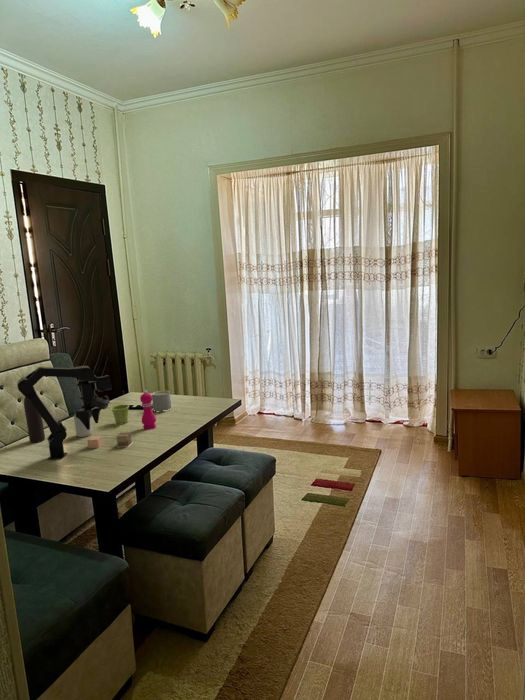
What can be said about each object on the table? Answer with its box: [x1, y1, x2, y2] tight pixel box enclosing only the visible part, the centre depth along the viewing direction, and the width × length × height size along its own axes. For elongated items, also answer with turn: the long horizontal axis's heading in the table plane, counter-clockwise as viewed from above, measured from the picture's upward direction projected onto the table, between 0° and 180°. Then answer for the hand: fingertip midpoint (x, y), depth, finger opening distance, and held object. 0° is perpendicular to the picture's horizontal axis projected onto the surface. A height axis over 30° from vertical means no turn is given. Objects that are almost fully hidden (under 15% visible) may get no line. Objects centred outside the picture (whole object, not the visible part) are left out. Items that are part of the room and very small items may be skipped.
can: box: [73, 414, 93, 438], centre depth 247 cm, size 8×8×12 cm
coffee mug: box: [151, 390, 172, 411], centre depth 283 cm, size 13×10×10 cm
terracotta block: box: [86, 435, 104, 449], centre depth 228 cm, size 5×5×5 cm
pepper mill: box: [139, 390, 157, 431], centre depth 250 cm, size 7×7×20 cm
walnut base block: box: [116, 431, 133, 448], centre depth 227 cm, size 5×5×5 cm
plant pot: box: [110, 404, 130, 425], centre depth 264 cm, size 9×9×9 cm
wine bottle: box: [23, 396, 46, 444], centre depth 243 cm, size 7×7×30 cm
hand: (92, 426), depth 227 cm, fingers open, 9 cm apart
